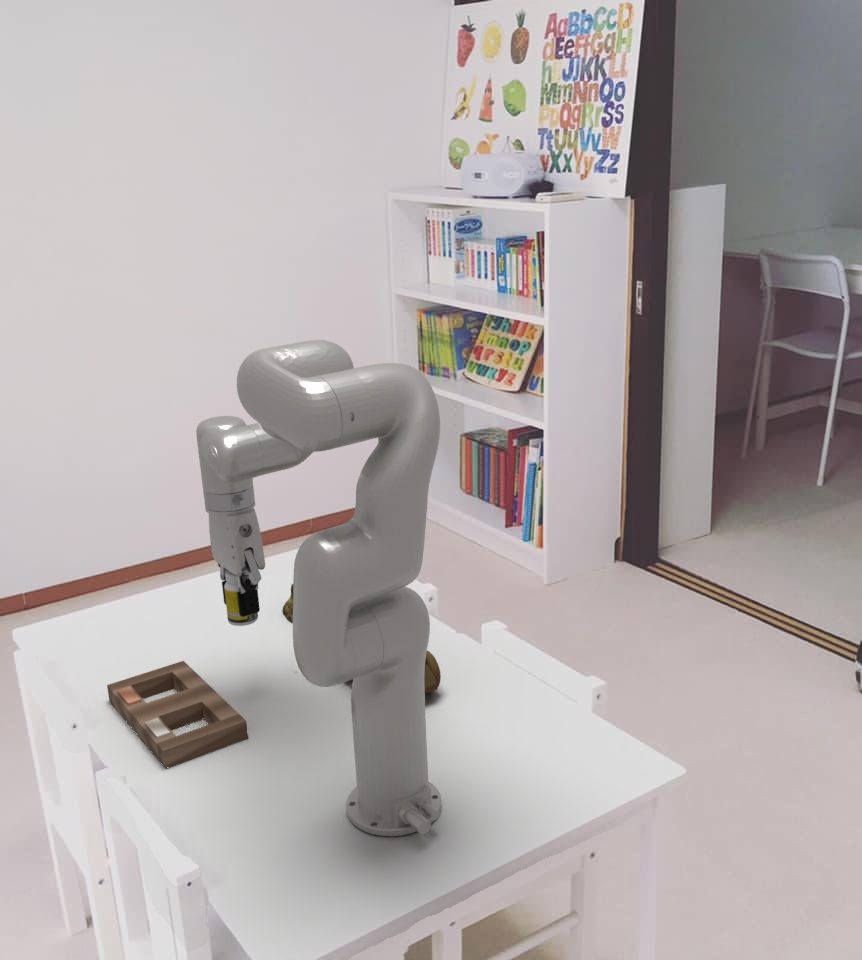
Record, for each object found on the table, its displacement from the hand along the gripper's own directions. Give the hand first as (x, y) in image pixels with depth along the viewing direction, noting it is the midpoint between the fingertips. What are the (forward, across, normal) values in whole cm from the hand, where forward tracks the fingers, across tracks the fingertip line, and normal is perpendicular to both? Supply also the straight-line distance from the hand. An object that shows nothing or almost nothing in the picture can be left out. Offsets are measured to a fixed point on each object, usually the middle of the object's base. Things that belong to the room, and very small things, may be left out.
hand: (241, 607), depth 169 cm
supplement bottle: (+2, 0, 0) cm, 2 cm away
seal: (+16, +21, -22) cm, 35 cm away
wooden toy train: (+16, -10, -19) cm, 27 cm away
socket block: (+16, +1, +12) cm, 20 cm away
